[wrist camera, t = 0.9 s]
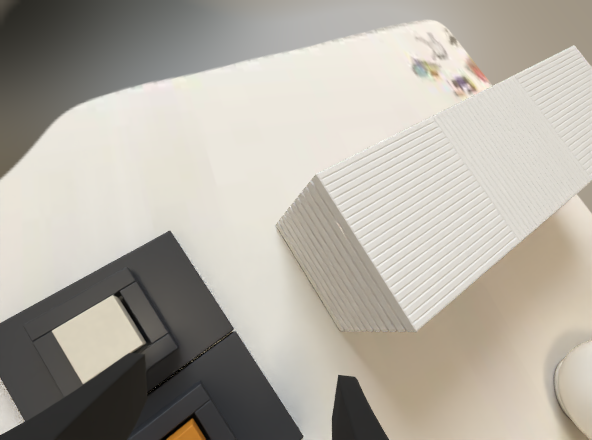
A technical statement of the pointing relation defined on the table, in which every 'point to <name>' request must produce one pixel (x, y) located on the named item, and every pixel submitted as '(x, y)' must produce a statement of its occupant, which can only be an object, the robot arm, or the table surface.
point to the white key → (98, 338)
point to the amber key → (188, 432)
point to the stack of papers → (443, 198)
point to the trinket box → (576, 386)
